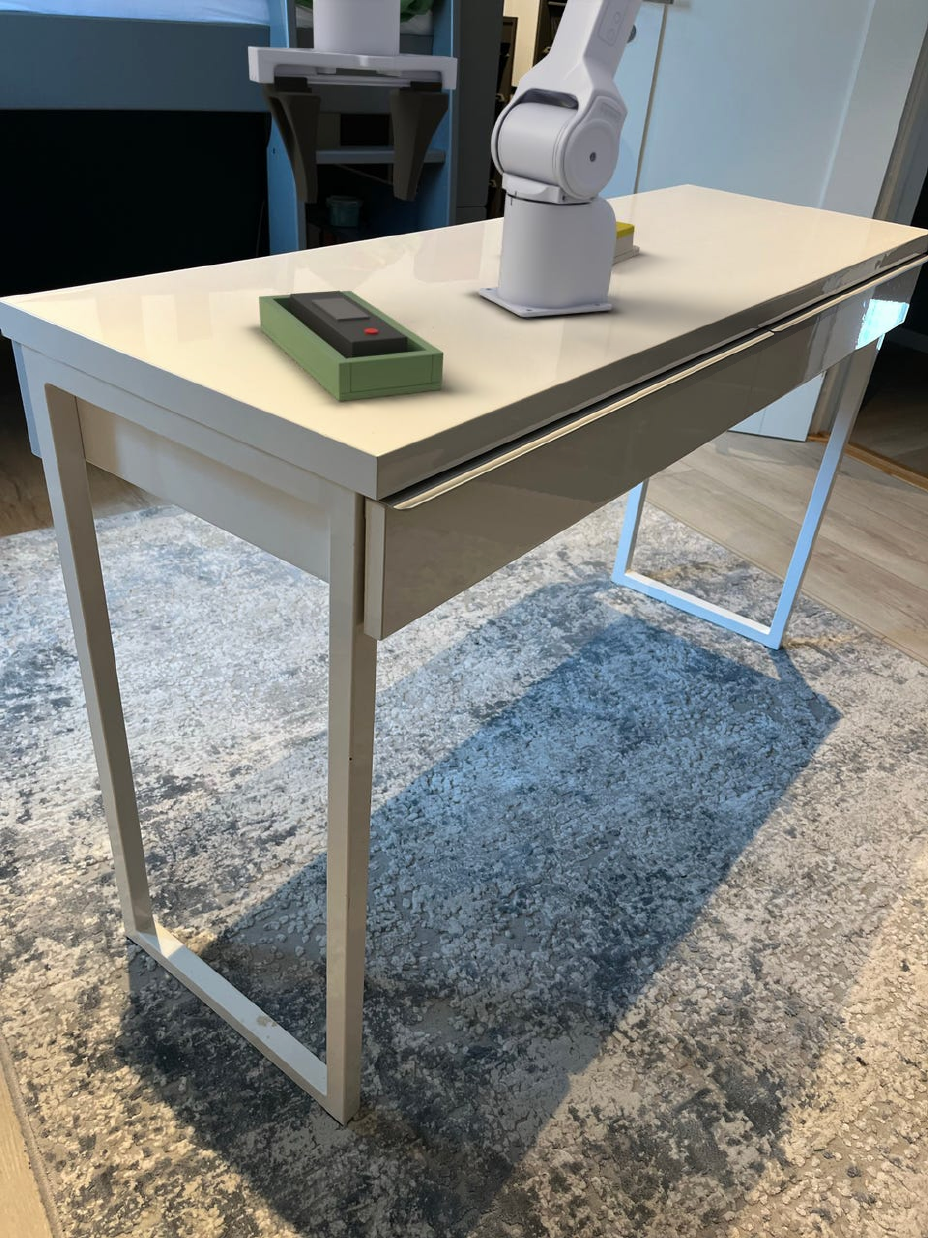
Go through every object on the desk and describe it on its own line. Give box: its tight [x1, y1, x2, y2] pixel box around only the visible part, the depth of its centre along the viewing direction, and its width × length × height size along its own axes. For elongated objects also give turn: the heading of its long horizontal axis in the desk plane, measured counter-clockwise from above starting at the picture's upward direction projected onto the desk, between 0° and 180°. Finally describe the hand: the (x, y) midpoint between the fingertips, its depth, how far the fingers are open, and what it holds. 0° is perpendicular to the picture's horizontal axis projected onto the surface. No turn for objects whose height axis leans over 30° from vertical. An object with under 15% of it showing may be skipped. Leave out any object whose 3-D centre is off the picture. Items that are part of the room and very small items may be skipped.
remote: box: [289, 290, 408, 359], centre depth 65 cm, size 12×4×3 cm, turn 28°
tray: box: [258, 290, 444, 402], centre depth 66 cm, size 7×16×2 cm, turn 28°
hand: (356, 199), depth 67 cm, fingers open, 7 cm apart
